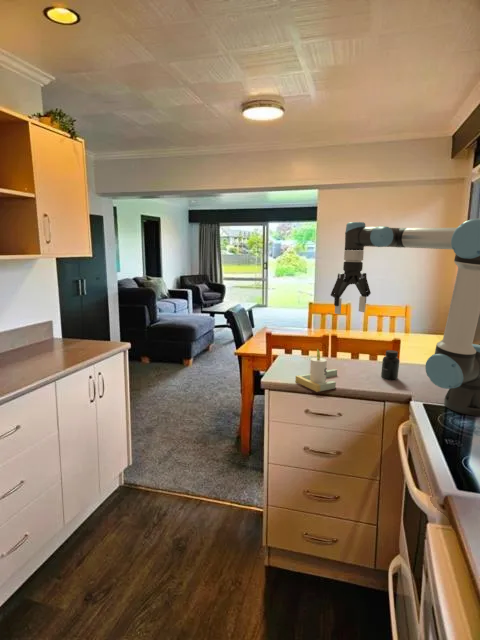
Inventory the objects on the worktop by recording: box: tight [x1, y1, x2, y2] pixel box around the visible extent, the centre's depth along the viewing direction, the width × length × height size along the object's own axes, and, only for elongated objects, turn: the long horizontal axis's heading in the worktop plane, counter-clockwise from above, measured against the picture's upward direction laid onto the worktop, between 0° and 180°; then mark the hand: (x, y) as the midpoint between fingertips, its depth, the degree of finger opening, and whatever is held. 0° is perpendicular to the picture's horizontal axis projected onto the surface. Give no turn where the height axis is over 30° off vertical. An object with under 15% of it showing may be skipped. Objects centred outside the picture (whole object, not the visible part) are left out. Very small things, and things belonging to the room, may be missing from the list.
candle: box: [309, 348, 328, 384], centre depth 165 cm, size 6×6×15 cm
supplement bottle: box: [380, 349, 400, 381], centre depth 175 cm, size 7×7×12 cm
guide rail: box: [295, 368, 338, 393], centre depth 168 cm, size 14×22×2 cm, turn 120°
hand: (349, 312), depth 169 cm, fingers open, 13 cm apart
